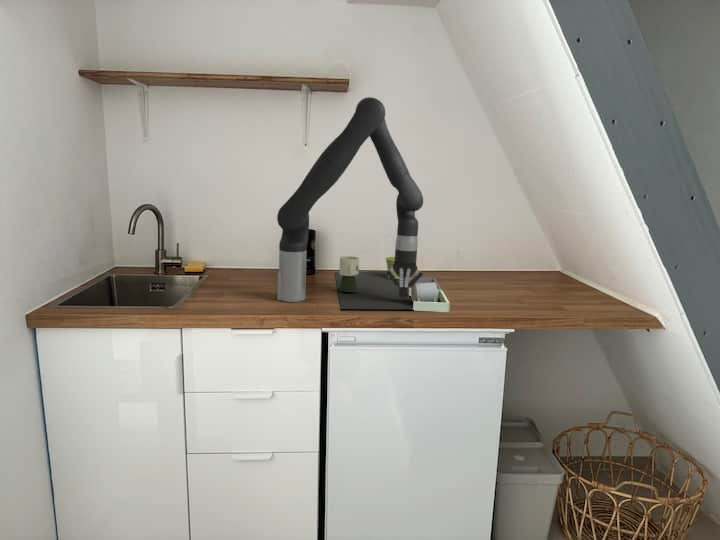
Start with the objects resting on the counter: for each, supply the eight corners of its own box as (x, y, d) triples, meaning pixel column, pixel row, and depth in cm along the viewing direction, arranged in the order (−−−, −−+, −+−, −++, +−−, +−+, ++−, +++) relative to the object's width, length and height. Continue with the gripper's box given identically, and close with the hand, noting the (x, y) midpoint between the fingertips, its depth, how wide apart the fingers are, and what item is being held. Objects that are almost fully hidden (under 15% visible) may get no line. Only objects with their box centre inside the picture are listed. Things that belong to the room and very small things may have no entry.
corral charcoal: (408, 295, 194) (409, 288, 194) (404, 284, 214) (405, 277, 213) (441, 297, 194) (441, 289, 194) (434, 285, 213) (434, 278, 213)
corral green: (413, 310, 175) (413, 301, 174) (408, 296, 194) (409, 288, 193) (449, 312, 175) (449, 303, 174) (441, 297, 194) (441, 289, 193)
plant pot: (381, 279, 221) (382, 259, 219) (387, 275, 229) (388, 255, 228) (403, 281, 218) (404, 261, 216) (408, 277, 227) (409, 257, 225)
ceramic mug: (409, 300, 187) (411, 279, 185) (432, 301, 188) (433, 280, 186) (416, 309, 177) (418, 287, 175) (440, 309, 178) (441, 287, 176)
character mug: (360, 295, 192) (361, 260, 189) (340, 295, 190) (341, 260, 188) (355, 288, 202) (356, 255, 200) (336, 288, 201) (338, 255, 198)
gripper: (387, 248, 177) (384, 298, 180) (426, 251, 177) (422, 301, 180) (386, 245, 184) (383, 293, 188) (424, 247, 184) (420, 295, 187)
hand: (402, 297), depth 184 cm, fingers closed
